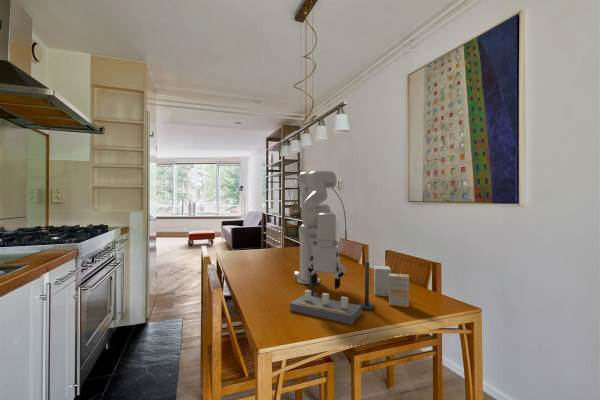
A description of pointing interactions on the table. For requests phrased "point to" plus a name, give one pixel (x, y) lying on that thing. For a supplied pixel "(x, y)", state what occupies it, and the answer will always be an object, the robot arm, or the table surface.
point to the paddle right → (344, 302)
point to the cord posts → (365, 305)
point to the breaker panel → (326, 309)
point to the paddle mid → (325, 298)
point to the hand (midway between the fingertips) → (325, 286)
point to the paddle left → (307, 295)
